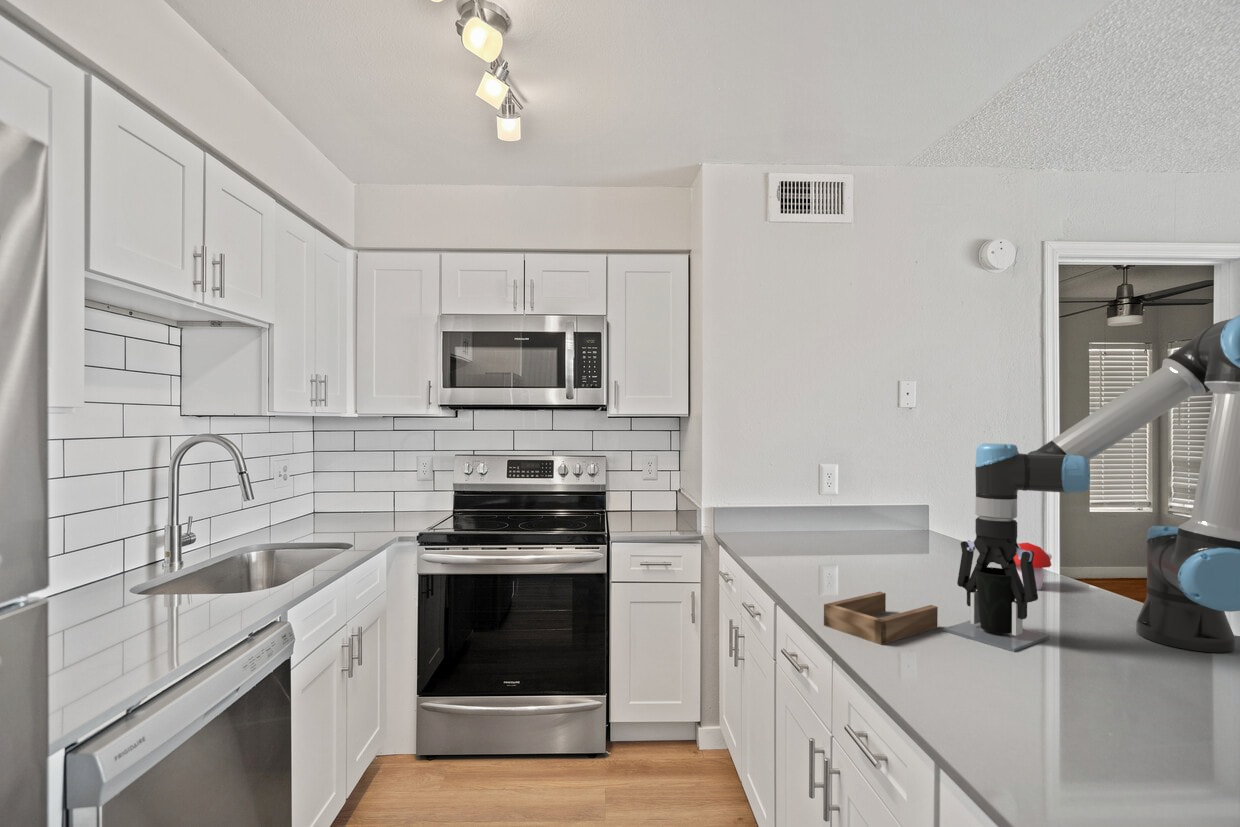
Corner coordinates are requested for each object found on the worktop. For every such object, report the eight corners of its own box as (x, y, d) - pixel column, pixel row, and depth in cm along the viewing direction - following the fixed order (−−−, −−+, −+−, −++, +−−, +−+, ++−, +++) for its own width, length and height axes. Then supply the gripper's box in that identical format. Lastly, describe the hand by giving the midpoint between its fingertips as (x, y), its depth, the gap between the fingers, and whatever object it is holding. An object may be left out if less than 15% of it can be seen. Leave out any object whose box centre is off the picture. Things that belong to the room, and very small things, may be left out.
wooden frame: (937, 627, 138) (937, 606, 138) (881, 644, 127) (881, 621, 127) (879, 610, 149) (879, 591, 149) (823, 625, 139) (823, 604, 139)
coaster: (1048, 638, 131) (1048, 635, 131) (1014, 651, 124) (1014, 648, 124) (979, 620, 143) (979, 617, 143) (943, 631, 135) (943, 628, 135)
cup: (1024, 636, 129) (1024, 576, 129) (982, 634, 130) (982, 574, 130) (1008, 624, 136) (1008, 568, 136) (969, 622, 138) (969, 566, 138)
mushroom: (1037, 582, 176) (1037, 539, 176) (1061, 593, 165) (1061, 547, 166) (996, 581, 177) (996, 538, 177) (1017, 592, 166) (1017, 546, 167)
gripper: (1059, 523, 127) (1059, 639, 127) (957, 510, 144) (957, 612, 144) (1041, 526, 123) (1041, 646, 123) (938, 513, 140) (938, 618, 140)
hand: (995, 628), depth 133 cm, fingers closed on cup, 8 cm apart
